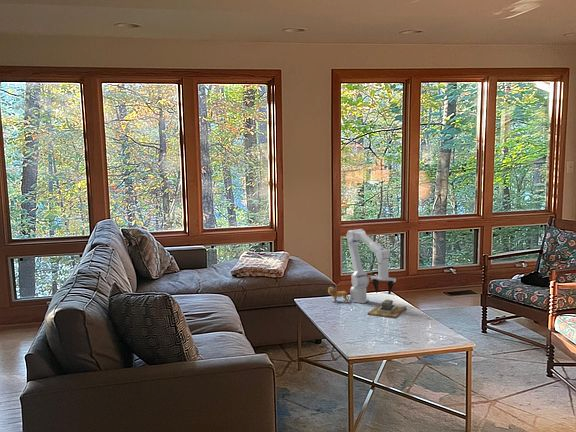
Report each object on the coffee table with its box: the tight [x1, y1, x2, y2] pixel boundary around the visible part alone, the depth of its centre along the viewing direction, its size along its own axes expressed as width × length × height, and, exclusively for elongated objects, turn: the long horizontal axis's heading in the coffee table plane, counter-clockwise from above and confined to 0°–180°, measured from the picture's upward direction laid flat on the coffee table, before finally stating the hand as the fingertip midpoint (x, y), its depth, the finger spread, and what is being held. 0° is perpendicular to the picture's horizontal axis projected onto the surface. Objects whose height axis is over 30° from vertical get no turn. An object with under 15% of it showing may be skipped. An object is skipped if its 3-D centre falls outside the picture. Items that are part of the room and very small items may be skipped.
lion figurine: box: [327, 286, 353, 304], centre depth 348 cm, size 15×5×9 cm, turn 73°
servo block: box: [380, 298, 394, 310], centre depth 324 cm, size 4×9×6 cm, turn 151°
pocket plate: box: [367, 303, 407, 319], centre depth 325 cm, size 16×20×2 cm
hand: (383, 292), depth 330 cm, fingers open, 7 cm apart
